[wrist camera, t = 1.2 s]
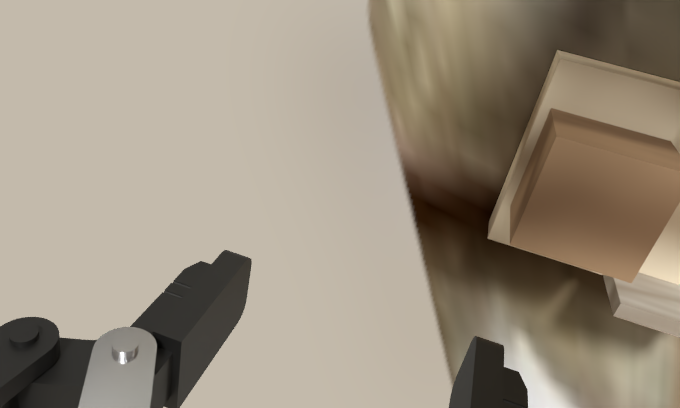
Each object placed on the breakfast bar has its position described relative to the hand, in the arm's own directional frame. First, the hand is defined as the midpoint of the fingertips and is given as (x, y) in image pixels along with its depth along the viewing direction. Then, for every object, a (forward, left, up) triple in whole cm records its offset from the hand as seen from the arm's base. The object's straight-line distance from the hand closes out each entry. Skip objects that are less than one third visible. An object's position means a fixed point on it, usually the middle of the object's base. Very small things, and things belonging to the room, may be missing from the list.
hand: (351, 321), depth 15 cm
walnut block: (0, +8, -16) cm, 18 cm away
